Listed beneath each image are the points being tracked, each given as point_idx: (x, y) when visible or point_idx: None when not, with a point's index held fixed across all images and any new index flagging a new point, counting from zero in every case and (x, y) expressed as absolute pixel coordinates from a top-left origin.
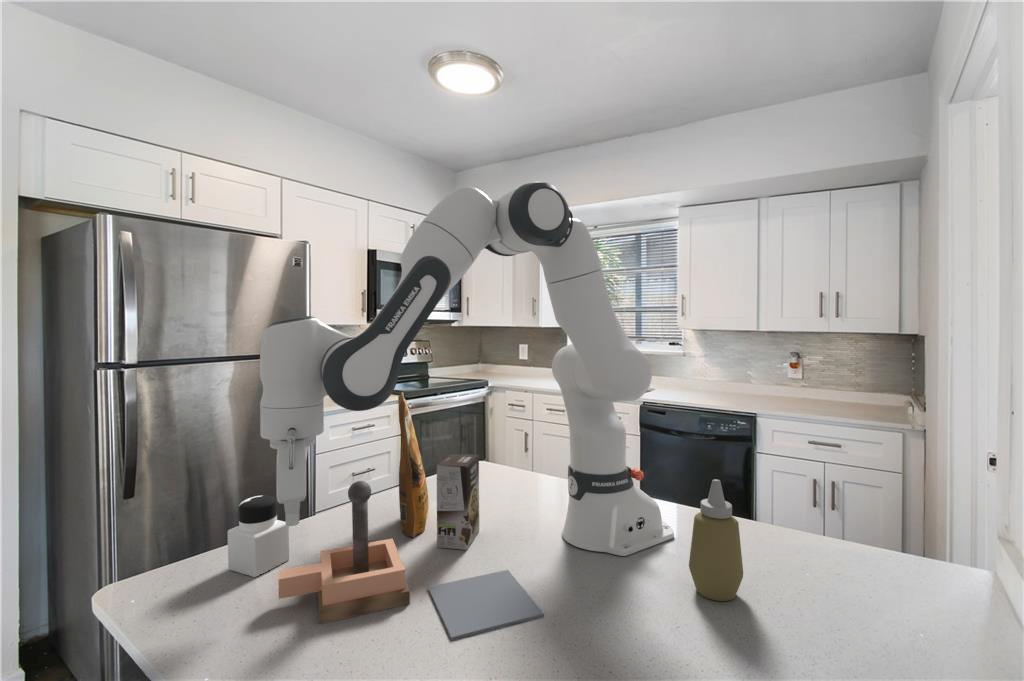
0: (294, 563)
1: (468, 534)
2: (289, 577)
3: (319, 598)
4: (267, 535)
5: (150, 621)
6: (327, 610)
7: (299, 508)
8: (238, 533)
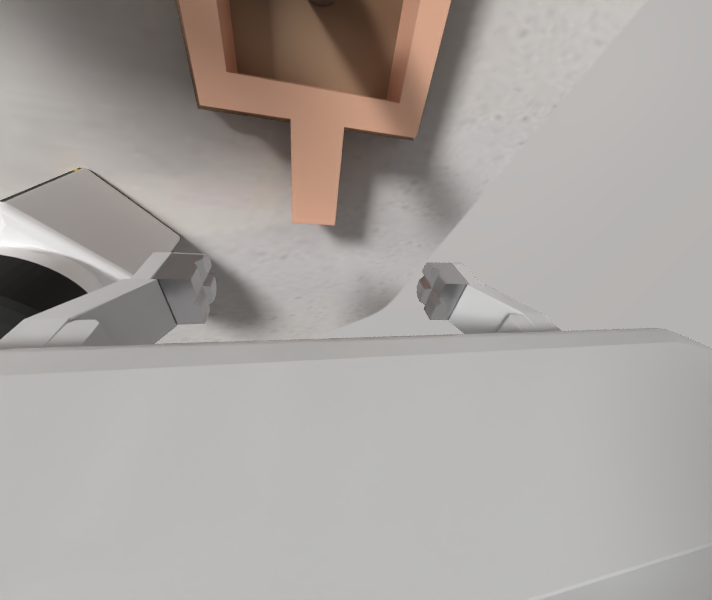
0: (105, 154)
1: None
2: (336, 204)
3: (370, 132)
4: (109, 256)
5: (279, 333)
6: None
7: (509, 297)
8: None
